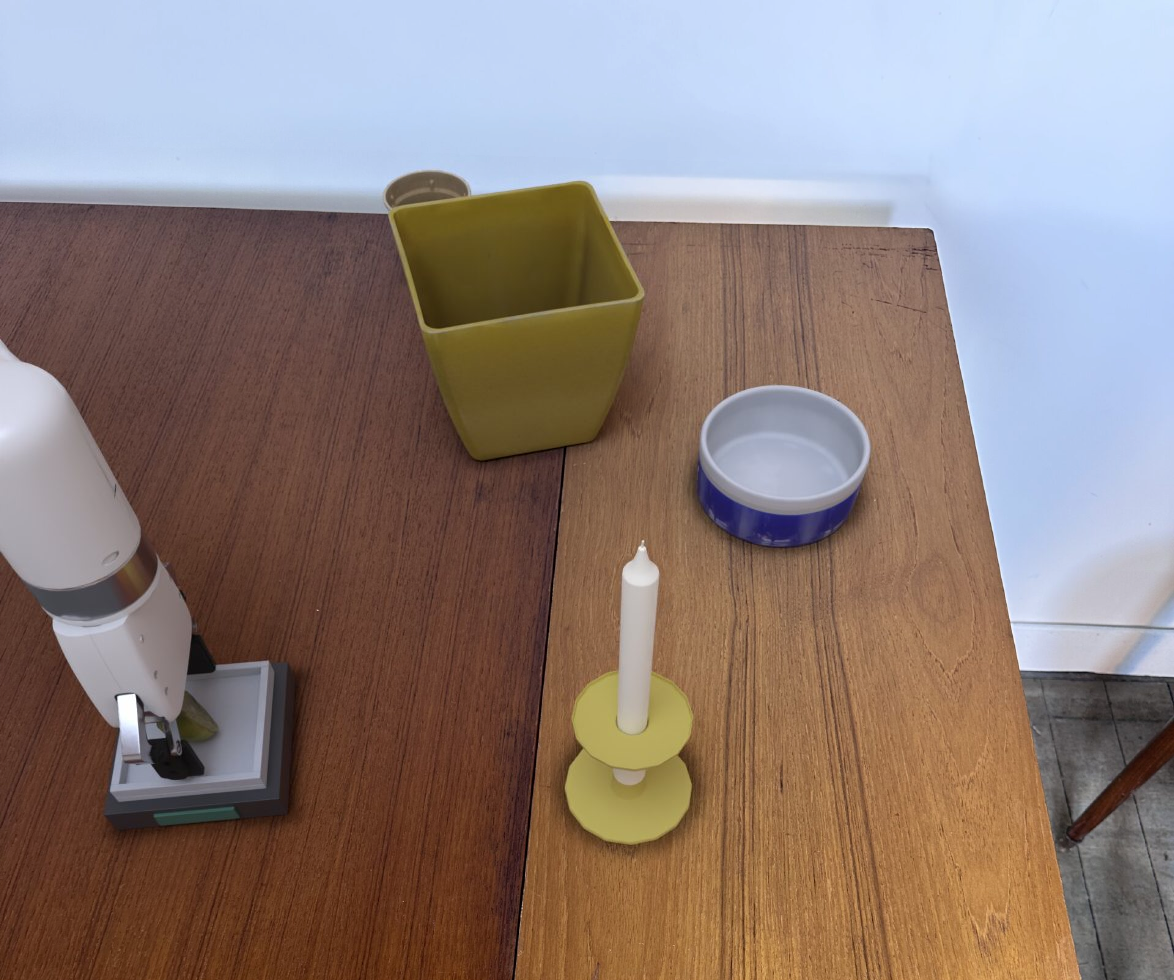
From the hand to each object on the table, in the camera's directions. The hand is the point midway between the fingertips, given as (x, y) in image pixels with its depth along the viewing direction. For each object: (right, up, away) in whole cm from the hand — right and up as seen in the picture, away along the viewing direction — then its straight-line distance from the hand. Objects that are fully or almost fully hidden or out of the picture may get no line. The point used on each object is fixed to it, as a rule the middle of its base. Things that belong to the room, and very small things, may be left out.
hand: (190, 720), depth 74 cm
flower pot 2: (+24, +33, +24) cm, 47 cm away
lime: (0, -1, +1) cm, 2 cm away
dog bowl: (+48, +23, +18) cm, 57 cm away
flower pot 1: (+13, +54, +37) cm, 66 cm away
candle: (+34, -5, +2) cm, 34 cm away
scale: (0, -2, +4) cm, 4 cm away
